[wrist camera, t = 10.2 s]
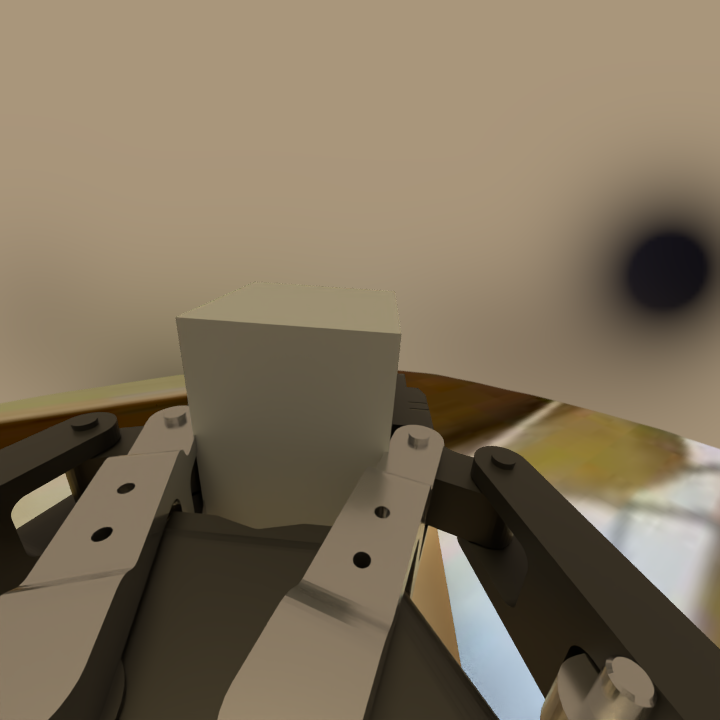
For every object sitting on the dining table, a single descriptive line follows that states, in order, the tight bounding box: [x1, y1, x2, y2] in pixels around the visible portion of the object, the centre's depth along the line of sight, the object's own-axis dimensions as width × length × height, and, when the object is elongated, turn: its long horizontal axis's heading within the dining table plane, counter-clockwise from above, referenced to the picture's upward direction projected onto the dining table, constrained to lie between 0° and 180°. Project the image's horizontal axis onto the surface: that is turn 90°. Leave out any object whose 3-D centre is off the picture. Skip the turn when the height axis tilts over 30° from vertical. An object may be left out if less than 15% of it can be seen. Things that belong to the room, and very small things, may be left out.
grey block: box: [176, 282, 401, 529], centre depth 11 cm, size 4×4×10 cm
